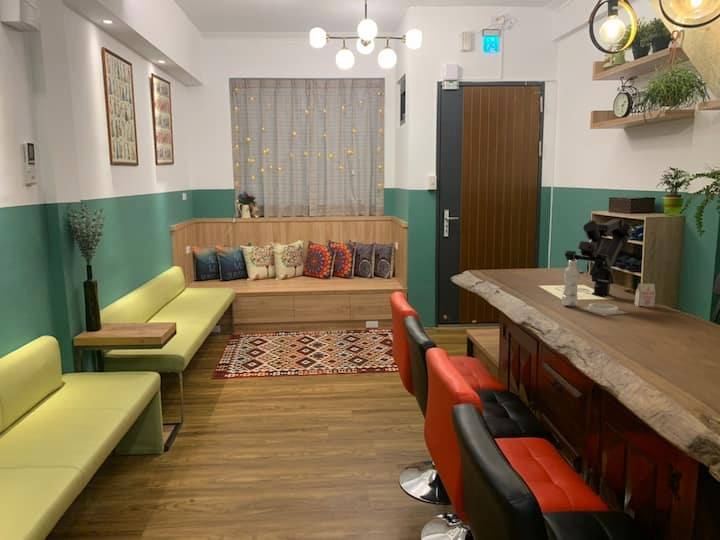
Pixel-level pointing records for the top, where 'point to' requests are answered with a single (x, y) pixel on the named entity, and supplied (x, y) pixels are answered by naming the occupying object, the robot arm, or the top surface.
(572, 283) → the plastic bottle
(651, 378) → the top surface
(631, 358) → the top surface
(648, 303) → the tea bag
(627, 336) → the top surface
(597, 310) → the bottle holder
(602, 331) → the top surface
